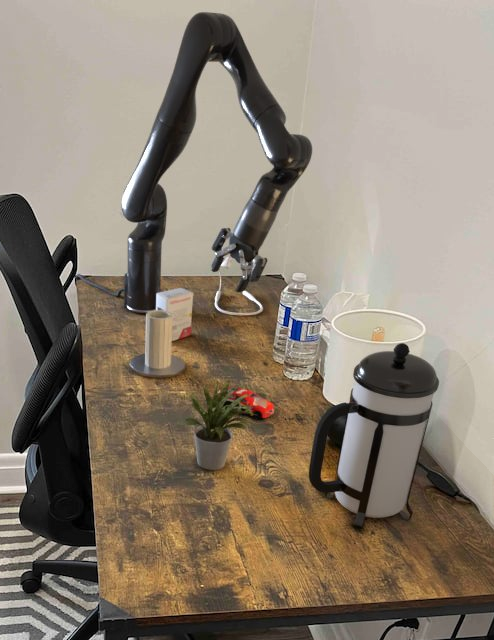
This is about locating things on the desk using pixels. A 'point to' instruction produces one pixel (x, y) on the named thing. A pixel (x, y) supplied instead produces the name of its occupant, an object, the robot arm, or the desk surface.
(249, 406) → the race car
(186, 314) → the ink box
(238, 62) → the robot arm
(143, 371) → the stand
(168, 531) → the desk surface
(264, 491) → the desk surface
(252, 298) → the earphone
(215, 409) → the house plant
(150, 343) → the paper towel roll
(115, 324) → the desk surface
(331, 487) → the coffee press
